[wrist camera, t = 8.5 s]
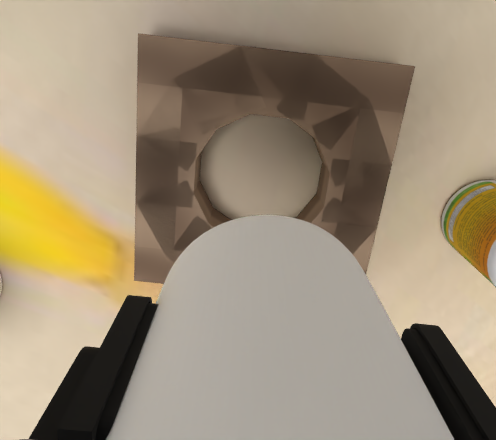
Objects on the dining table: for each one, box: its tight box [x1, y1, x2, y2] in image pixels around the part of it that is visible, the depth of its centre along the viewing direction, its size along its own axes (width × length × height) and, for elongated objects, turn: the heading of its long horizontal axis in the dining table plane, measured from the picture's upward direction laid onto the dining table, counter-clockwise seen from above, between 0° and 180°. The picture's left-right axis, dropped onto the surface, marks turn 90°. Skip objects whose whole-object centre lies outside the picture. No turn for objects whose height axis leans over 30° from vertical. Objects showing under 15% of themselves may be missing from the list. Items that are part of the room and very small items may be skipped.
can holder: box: [134, 34, 415, 284], centre depth 27 cm, size 15×15×3 cm
